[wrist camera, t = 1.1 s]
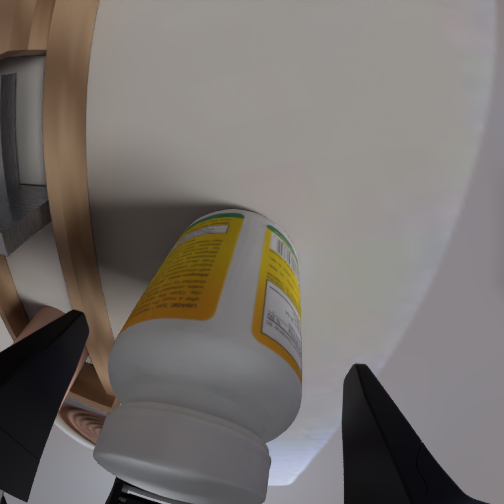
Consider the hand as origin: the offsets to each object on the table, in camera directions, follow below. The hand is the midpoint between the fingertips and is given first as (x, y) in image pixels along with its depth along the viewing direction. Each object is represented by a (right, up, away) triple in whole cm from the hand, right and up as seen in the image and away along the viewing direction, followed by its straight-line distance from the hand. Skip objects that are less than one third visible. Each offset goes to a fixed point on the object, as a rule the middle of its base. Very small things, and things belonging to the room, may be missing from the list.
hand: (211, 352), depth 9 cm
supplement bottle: (+1, +3, +4) cm, 5 cm away
